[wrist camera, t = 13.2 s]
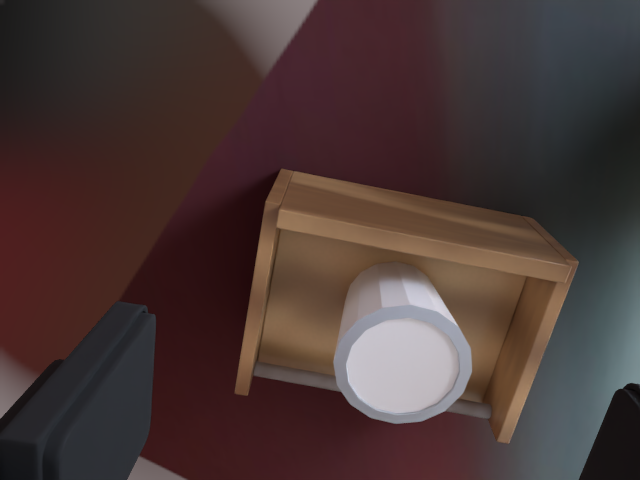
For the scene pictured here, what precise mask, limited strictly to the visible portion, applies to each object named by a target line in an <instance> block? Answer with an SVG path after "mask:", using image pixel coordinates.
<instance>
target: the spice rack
mask: <svg viewBox="0 0 640 480" xmlns="http://www.w3.org/2000/svg"><path fill="white" fill-rule="evenodd" d="M395 261H396V262H400V263H404V264H408V265H412V266H414V267H416V268H417V269H418V270H420V271H421V272H422V273H424V274H425V275H426V276H428V278H429V279H430V281H431V283H432V284H433V286H434V288H435V289H436V291H437V292H438V294H439V296H440V297H441V299H442V301H443V302H444V304H445V305H446V307H447V309H448V310H449V312H450V314H451V315H452V317H453V318H454V320H455V322H456V323H457V325H458V327H459V328H460V330H461V332H462V334H463V335H464V337H465V339H466V341H467V342H468V344H469V346H470V348H471V360H472V373H471V376H470V378H469V380H468V383H467V385H466V388H465V390H464V392H463V394H462V395H461V396H460V397H459V398H458V399H457V400H456V401H455V402H454V403H453V404H452V405H451V406H450V407H449V408H448V409H447V410H446V411H448V412H453V413H458V414H464V415H469V416H475V417H480V418H485V419H488V420H489V423H490V426H491V428H492V431H493V434H494V436H495V439H496V441H497V442H502V443H507V444H509V442H510V439H511V437H512V434H513V432H514V429H515V427H516V424H517V421H518V419H519V416H520V414H521V411H522V408H523V406H524V403H525V401H526V398H527V396H528V393H529V390H530V388H531V385H532V383H533V380H534V377H535V375H536V372H537V370H538V367H539V365H540V362H541V359H542V357H543V354H544V352H545V349H546V346H547V344H548V341H549V339H550V336H551V334H552V331H553V328H554V326H555V323H556V321H557V318H558V315H559V313H560V310H561V308H562V305H563V302H564V300H565V297H566V295H567V292H568V290H569V287H570V284H571V282H572V279H573V277H574V274H575V271H576V269H577V266H578V264H579V261H578V260H576V259H575V258H574V257H573V256H572V255H571V254H570V253H569V252H568V251H567V250H566V249H565V248H564V247H563V246H562V245H561V244H560V243H558V242H557V241H556V240H555V239H554V238H553V237H552V236H551V235H550V234H549V233H548V232H547V231H546V230H545V229H544V228H543V227H541V226H540V225H539V224H538V223H537V222H536V221H535V220H534V219H533V218H530V217H525V216H520V215H515V214H510V213H505V212H500V211H495V210H490V209H485V208H479V207H474V206H469V205H464V204H459V203H454V202H449V201H444V200H439V199H433V198H428V197H423V196H418V195H413V194H408V193H403V192H398V191H393V190H387V189H382V188H377V187H372V186H367V185H362V184H357V183H352V182H347V181H342V180H336V179H331V178H326V177H321V176H316V175H311V174H306V173H301V172H296V171H291V170H285V169H281V170H280V172H279V174H278V176H277V178H276V180H275V183H274V185H273V187H272V189H271V191H270V193H269V195H268V197H267V199H266V201H265V207H264V213H263V219H262V225H261V231H260V238H259V244H258V250H257V256H256V262H255V269H254V275H253V281H252V287H251V293H250V300H249V306H248V312H247V318H246V324H245V330H244V337H243V343H242V349H241V355H240V361H239V368H238V374H237V380H236V386H235V394H240V395H245V396H247V395H248V393H249V389H250V385H251V381H252V378H253V375H254V376H258V377H264V378H269V379H274V380H280V381H285V382H291V383H296V384H301V385H307V386H312V387H318V388H323V389H328V390H334V391H339V392H341V390H340V389H339V387H338V386H337V382H336V376H335V369H334V363H333V362H334V356H335V351H336V346H337V341H338V336H339V330H340V325H341V320H342V315H343V310H344V304H345V300H346V296H347V293H348V290H349V287H350V284H351V283H352V282H353V281H354V280H355V279H356V277H357V276H358V275H359V274H360V273H361V272H362V271H364V270H366V269H368V268H370V267H372V266H374V265H376V264H378V263H387V262H395Z"/></svg>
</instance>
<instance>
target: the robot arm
mask: <svg viewBox="0 0 640 480" xmlns="http://www.w3.org/2000/svg"><path fill="white" fill-rule="evenodd" d="M155 332H156V316H155V314H149V313H148V310H147V307H146V306H145V305H138V304H132V303H126V302H120V301H117V302H116V303H115V304H114V305H113V306H112V307H111V308H110V309H109V310H108V311H107V313H106V314H105V315H104V316H103V317H102V318H101V320H100V321H99V322H98V323H97V324H96V325H95V326H94V327H93V329H92V330H91V331H90V332H89V333H88V334H87V335H86V336H85V338H84V339H83V340H82V341H81V342H80V344H78V346H77V347H76V348H75V349H74V350H73V351H72V352H71V354H70V355H69V356H68V357H67V358H66V359H65V360H61V359H59V360H55V361H54V362H53V363H52V364H50V365H49V366H48V367H47V368H46V370H45V371H44V372H43V373H42V374H41V375H40V376H39V377H38V378H37V379H36V380H35V382H34V383H33V384H32V385H31V386H30V387H29V388H28V389H27V390H26V391H25V393H24V394H23V395H22V396H21V397H20V398H19V399H18V400H17V401H16V402H15V404H14V405H13V406H12V407H11V408H10V409H9V410H8V411H7V412H6V413H5V414H4V416H3V417H2V418H1V419H0V480H127V479H128V477H129V475H130V472H131V471H132V468H133V467H134V465H135V463H136V461H137V458H138V457H139V455H140V453H141V451H142V449H143V447H144V445H145V442H146V440H147V437H148V434H149V429H150V422H151V405H152V387H153V368H154V350H155ZM579 480H640V384H633V383H630V384H627V385H626V386H625V387H624V388H623V389H618V390H617V391H616V392H615V394H614V395H613V398H612V400H611V403H610V405H609V408H608V410H607V413H606V415H605V417H604V420H603V422H602V425H601V427H600V430H599V432H598V434H597V437H596V439H595V442H594V444H593V447H592V449H591V451H590V454H589V456H588V459H587V461H586V464H585V466H584V468H583V471H582V473H581V476H580V478H579Z"/></svg>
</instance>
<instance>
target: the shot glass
mask: <svg viewBox="0 0 640 480" xmlns="http://www.w3.org/2000/svg"><path fill="white" fill-rule="evenodd" d="M333 363H334V369H335V376H336V382H337V386H338V387H339V389H340V390H341V392H342V393H343V395H344V396H345V398H346V399H347V401H348V402H349V403H350V405H352V406H353V407H355V408H356V409H358V410H359V411H361V412H362V413H364V414H366V415H367V416H369V417H370V418H373V419H378V420H382V421H386V422H390V423H394V424H398V423H409V422H420V421H424V420H426V419H428V418H430V417H433V416H435V415H437V414H439V413H442V412H444V411H446V410H447V409H448V408H449V407H450V406H451V405H452V404H453V403H454V402H455V401H456V400H457V399H458V398H459V397H460V396H461V395H462V394H463V392H464V390H465V388H466V385H467V383H468V380H469V378H470V376H471V373H472V360H471V348H470V346H469V344H468V342H467V341H466V339H465V337H464V335H463V334H462V332H461V330H460V328H459V327H458V325H457V323H456V322H455V320H454V318H453V317H452V315H451V314H450V312H449V310H448V309H447V307H446V305H445V304H444V302H443V301H442V299H441V297H440V296H439V294H438V292H437V291H436V289H435V288H434V286H433V284H432V283H431V281H430V279H429V278H428V276H426V275H425V274H424V273H422V272H421V271H420V270H418V269H417V268H416V267H414V266H412V265H408V264H404V263H400V262H396V261H395V262H387V263H378V264H376V265H374V266H372V267H370V268H368V269H366V270H364V271H362V272H361V273H360V274H359V275H358V276H357V277H356V279H355V280H354V281H353V282H352V283H351V284H350V287H349V290H348V293H347V296H346V300H345V304H344V310H343V315H342V320H341V325H340V330H339V336H338V341H337V346H336V351H335V356H334V362H333Z"/></svg>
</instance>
